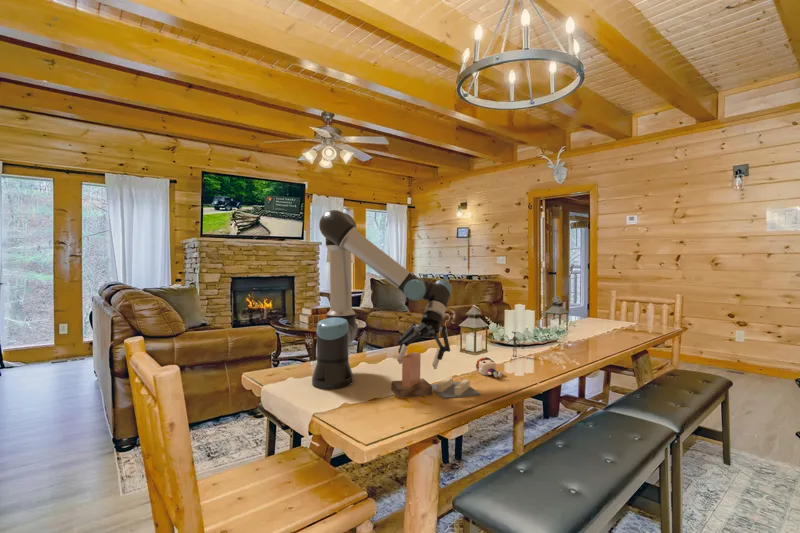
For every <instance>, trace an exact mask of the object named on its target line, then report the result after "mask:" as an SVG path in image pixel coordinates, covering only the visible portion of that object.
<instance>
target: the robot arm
mask: <svg viewBox="0 0 800 533" xmlns="http://www.w3.org/2000/svg"><path fill="white" fill-rule="evenodd" d="M318 225H319V226H318V227H319V231H320V233H321V235H322V236H323V237H324V238H325V247H326V248H327V249H328V251H329V293H330V294H329V299H330V300H329V301H330V303H329V304H330V305H329V307H330V309H329V310H328V311H327V312H326V318H323V319H321V320H319V321H318V322H317V324H316V332H315V333H316V365H315V367H314V371H313V372H312V373H313V374H312V376H311V385H312V386H314V387H315V388H319V389H323V390H324V389H326V390H330V389H333V390H335V389H342V388H345V387H348V386H351V385H352V384H353V383H354V375H353V371H352V368H351V365H350V362H349V346H350V344H352V343H353V342H354V341H355V339H356V338H357V335H358V331H359V326H358V323H357V321H356V320H357V318H356V312H355V311H354V310H353V309H352V307H353V306H352V305H353V304H352V255H354V256H355V257H356V258H358V259H359V260H360V261H362V262H363V263H364V264H365V265H366V266H368V267H369V268H370V269H372V270H373V271H375V272H376V273H377V274H378V275H380V276H381V277H382V278H384V279H385V280H386V281H388V282H389V283H390V284H391V285H392V286H394V287H395V288H397V289H398V290H399V291H400V292H401V293H402V294H404V296H405V297H406V298H407V299H409V300H410V301H415V302H416V301H419V300H421V299H422V300H424V301H427V304H426V306H425V309H424V313H422V316H421V321H420V323H419V324H416V323H415V322H412V323H411V325H410V327H408V329H407V330H406V331H405V332H404V333H403V334H402V335H401V336H400V337H399V338H398V339H397V340H396V341H397V344H398V345H399V348H398V356H397V357H396V358H397V362H398V364H399V365H402V357H404V356H406V353H407V350H408V348H407V347H408V346H410V345H411V344H413V343H414V342H415V341H417V340H418V339H421V338H429V339H431V338H434V340H435V342H436V344H437V345H438V347H439V348H436V352H435V355H434V358H433V361H432V367H433V369H434V370H437V368H438V365H439V362H440V361H441V360H442V359H443V357H444V354H445V352H448V353H449V352H451V348H450V342H449V339H448V329H447V326H446V325H443V326H442V322H443V319H444V316H445V314H446V310H447V308H448V305H449V302H450V299H451V296H452V292H453V287H452V285H451V284H450V282H448V281H447V280H442V279H439V280H436V281H435V282H431V281H429V280H426V279H424V278H422V277H419V276H416V275H414V274H413V273H411V272H410V271H409V270H408V269H406V268H405V266H404V267H403V266H402V265H401V264H400V263H399V262H398V261H396V260H395V259H394V258H392V257H391V256H390V255H388V254H387V253H385V251H383V250H382V249H380V248H379V247H378V246H377V245H375V244H374V243H373V242H371V241H370V240H369V239H367V238H366V237H365V236H364V235H363V234H361V233H360V232H359V231H358V229H357V224H356V221H355V219H353V216H351V215H349V213H346V212H343V211H341V210H337V209H332V210H328V211H326V212H325V213H323V215H321V217H320V219H319V223H318ZM439 332H440V333H441V334H442V335H441V336H442V338H443V344H444V345H443V344H442V342H441V340H440V339H439V337H438V335H437V334H439Z"/></svg>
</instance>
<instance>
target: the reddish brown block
mask: <svg viewBox="0 0 800 533" xmlns="http://www.w3.org/2000/svg"><path fill="white" fill-rule="evenodd" d="M401 367H402V368H401V380H402V386H403V387H408V388H410V387H412V386H414V385H415V384H417V383H418V382H420V379H421V352H414V351H413V352H410V353H408V354H405V356H404V357H402V364H401Z"/></svg>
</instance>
